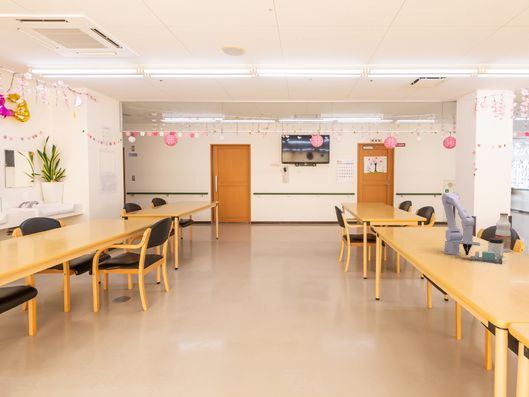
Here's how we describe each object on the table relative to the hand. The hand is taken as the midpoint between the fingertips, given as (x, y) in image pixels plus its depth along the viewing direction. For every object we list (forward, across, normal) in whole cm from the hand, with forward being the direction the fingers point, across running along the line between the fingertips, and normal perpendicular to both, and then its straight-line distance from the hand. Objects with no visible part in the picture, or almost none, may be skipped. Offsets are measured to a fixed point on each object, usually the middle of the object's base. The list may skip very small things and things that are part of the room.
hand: (467, 255), depth 234 cm
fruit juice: (+2, +20, +40) cm, 45 cm away
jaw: (+1, +6, 0) cm, 6 cm away
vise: (+2, +11, 0) cm, 11 cm away
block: (+1, +12, 0) cm, 12 cm away
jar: (+2, +16, +19) cm, 25 cm away
